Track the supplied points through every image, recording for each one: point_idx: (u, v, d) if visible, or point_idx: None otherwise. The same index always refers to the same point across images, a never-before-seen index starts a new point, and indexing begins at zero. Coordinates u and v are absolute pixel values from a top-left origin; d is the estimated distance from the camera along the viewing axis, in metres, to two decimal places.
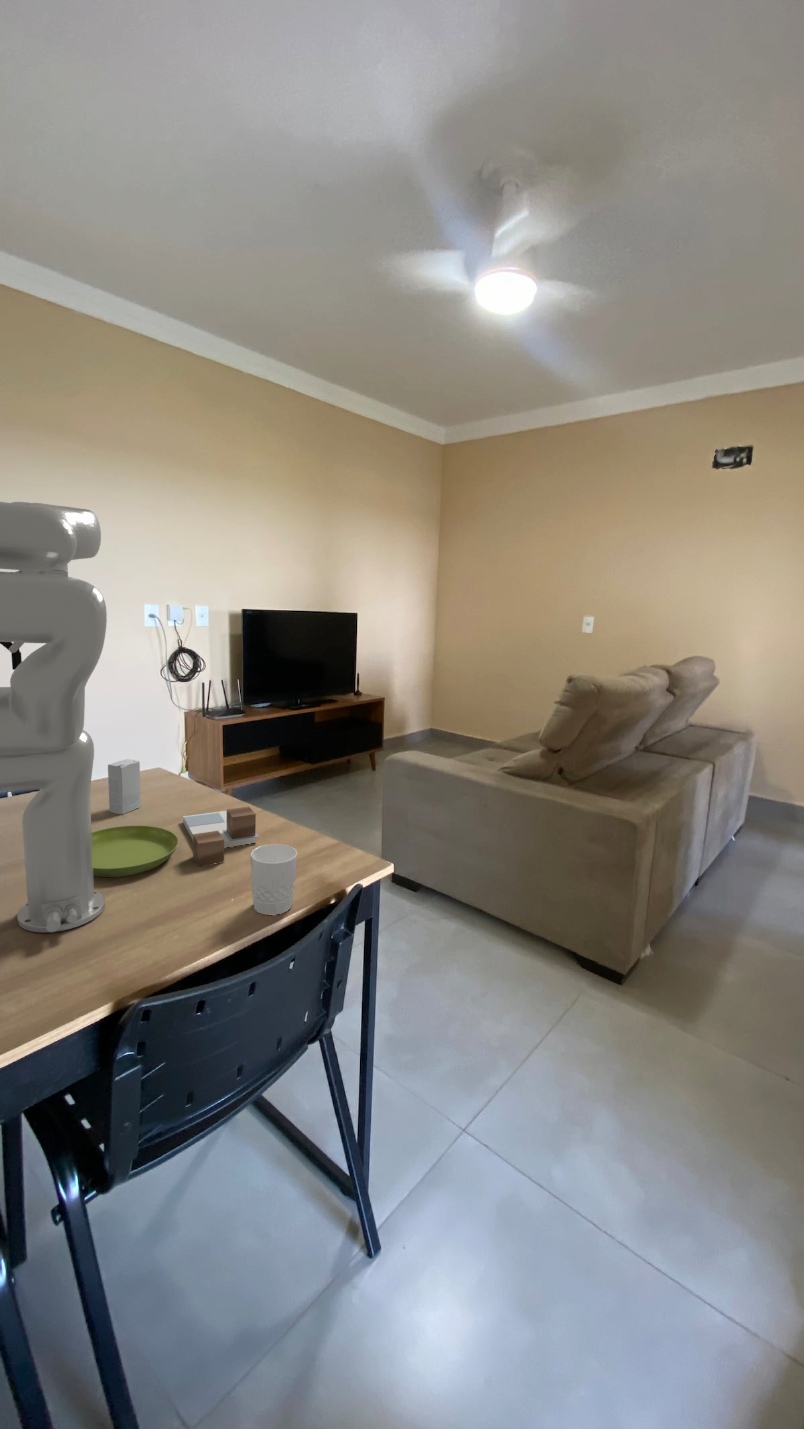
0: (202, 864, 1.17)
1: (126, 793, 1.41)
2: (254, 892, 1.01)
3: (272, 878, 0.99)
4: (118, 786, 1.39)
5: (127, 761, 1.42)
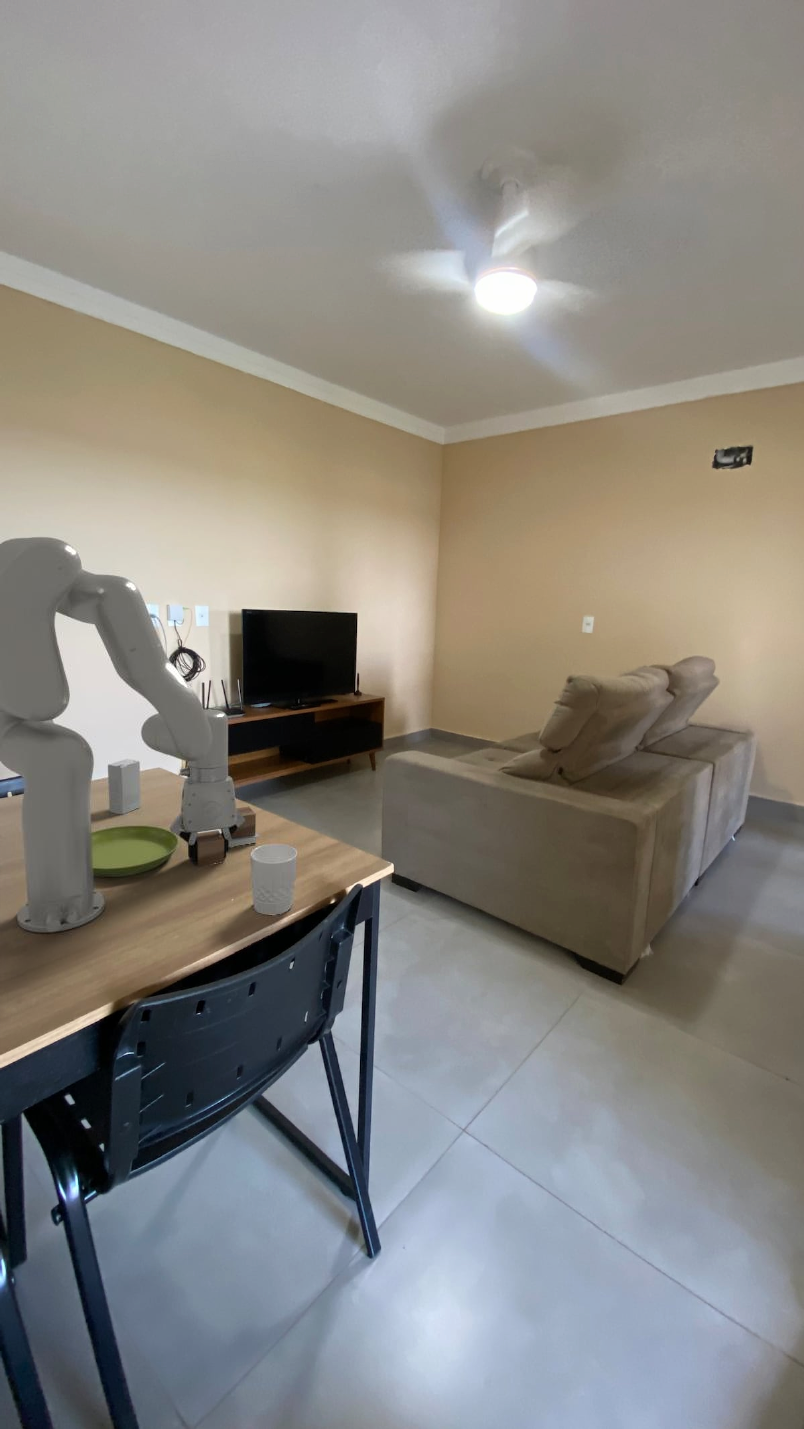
0: (202, 864, 1.17)
1: (126, 793, 1.41)
2: (254, 892, 1.01)
3: (272, 878, 0.99)
4: (118, 786, 1.39)
5: (127, 761, 1.42)
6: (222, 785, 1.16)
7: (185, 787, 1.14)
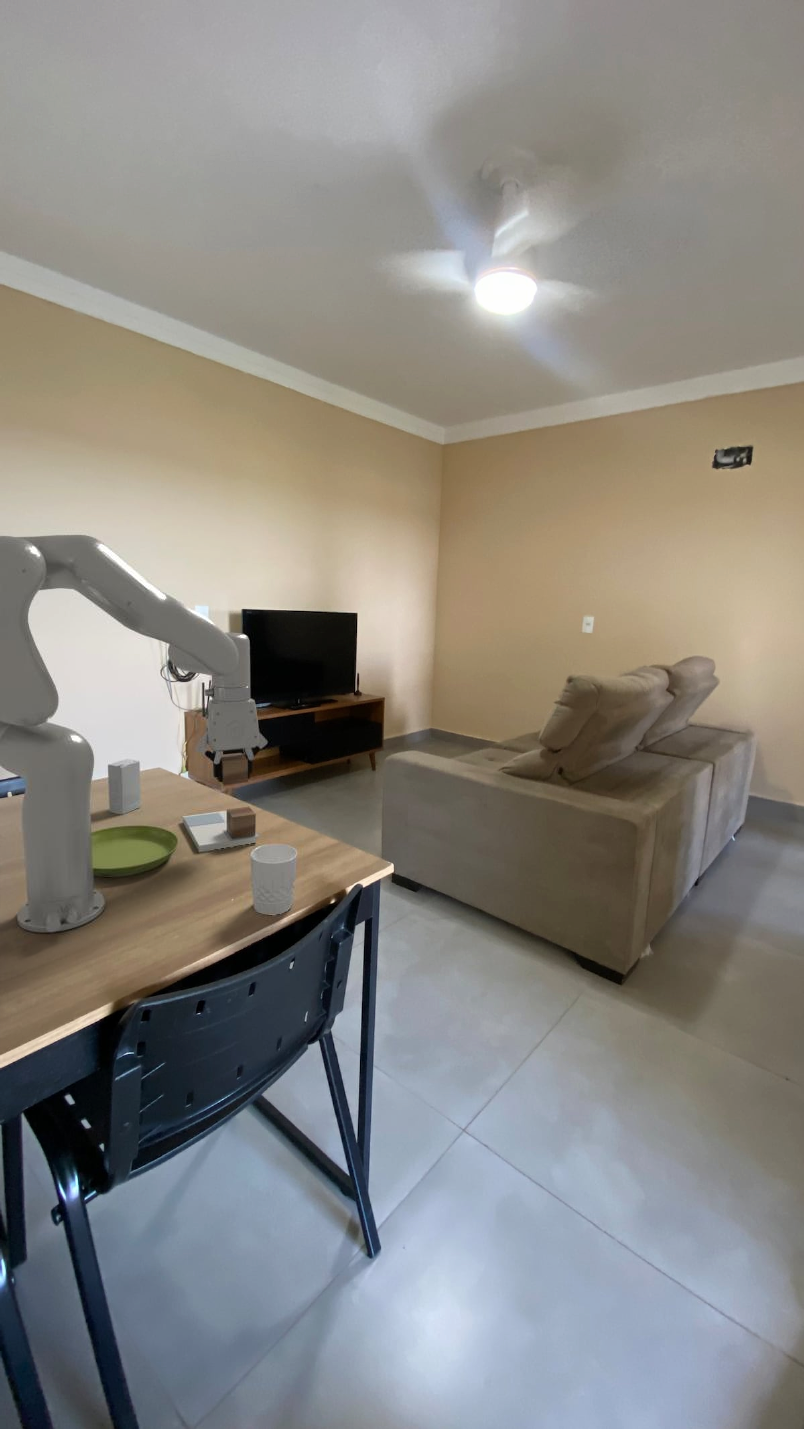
0: (227, 782, 1.22)
1: (126, 793, 1.41)
2: (254, 892, 1.01)
3: (272, 878, 0.99)
4: (118, 786, 1.39)
5: (127, 761, 1.42)
6: (245, 705, 1.20)
7: (210, 707, 1.18)
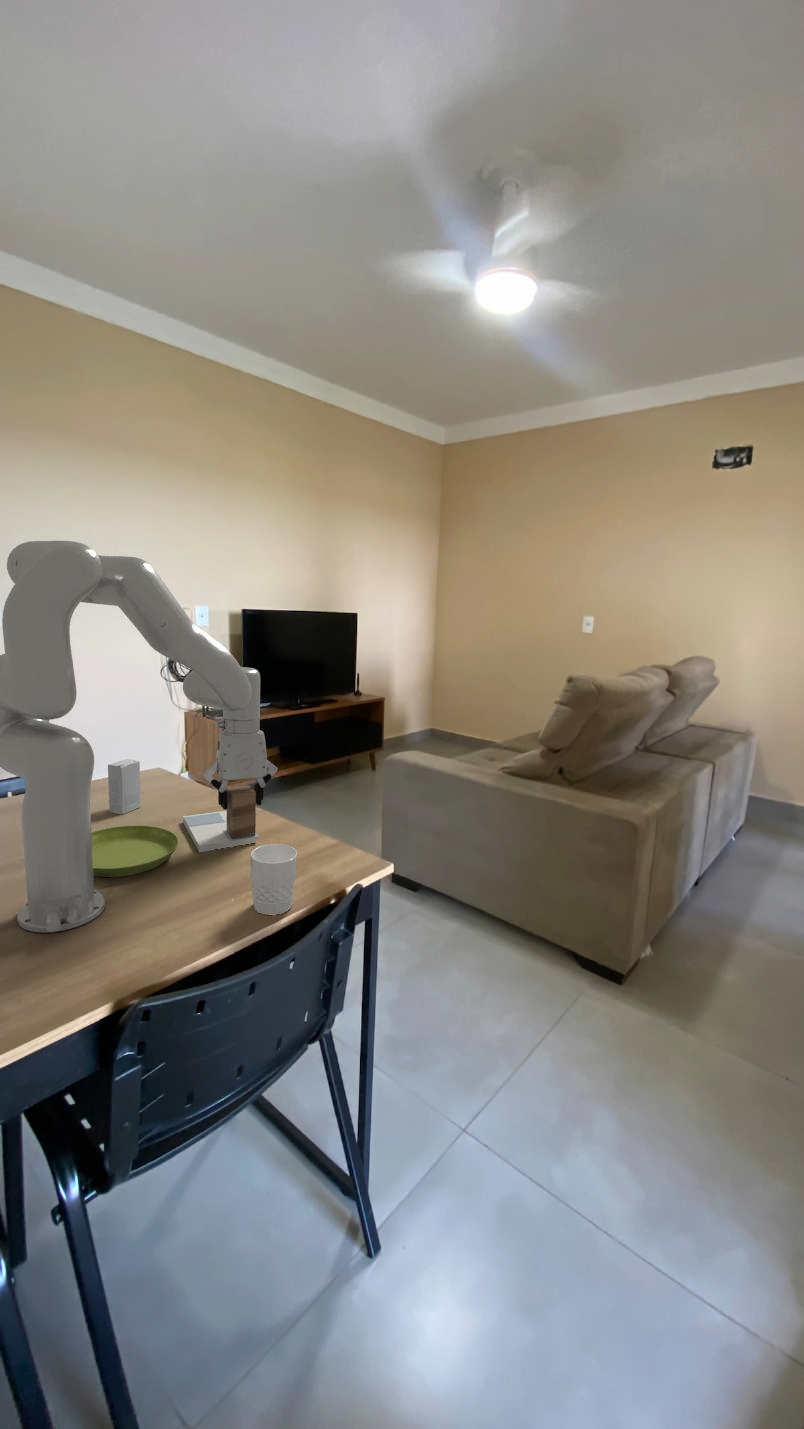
0: (236, 814, 1.26)
1: (126, 793, 1.41)
2: (254, 892, 1.01)
3: (272, 878, 0.99)
4: (118, 786, 1.39)
5: (127, 761, 1.42)
6: (255, 737, 1.25)
7: (221, 738, 1.23)
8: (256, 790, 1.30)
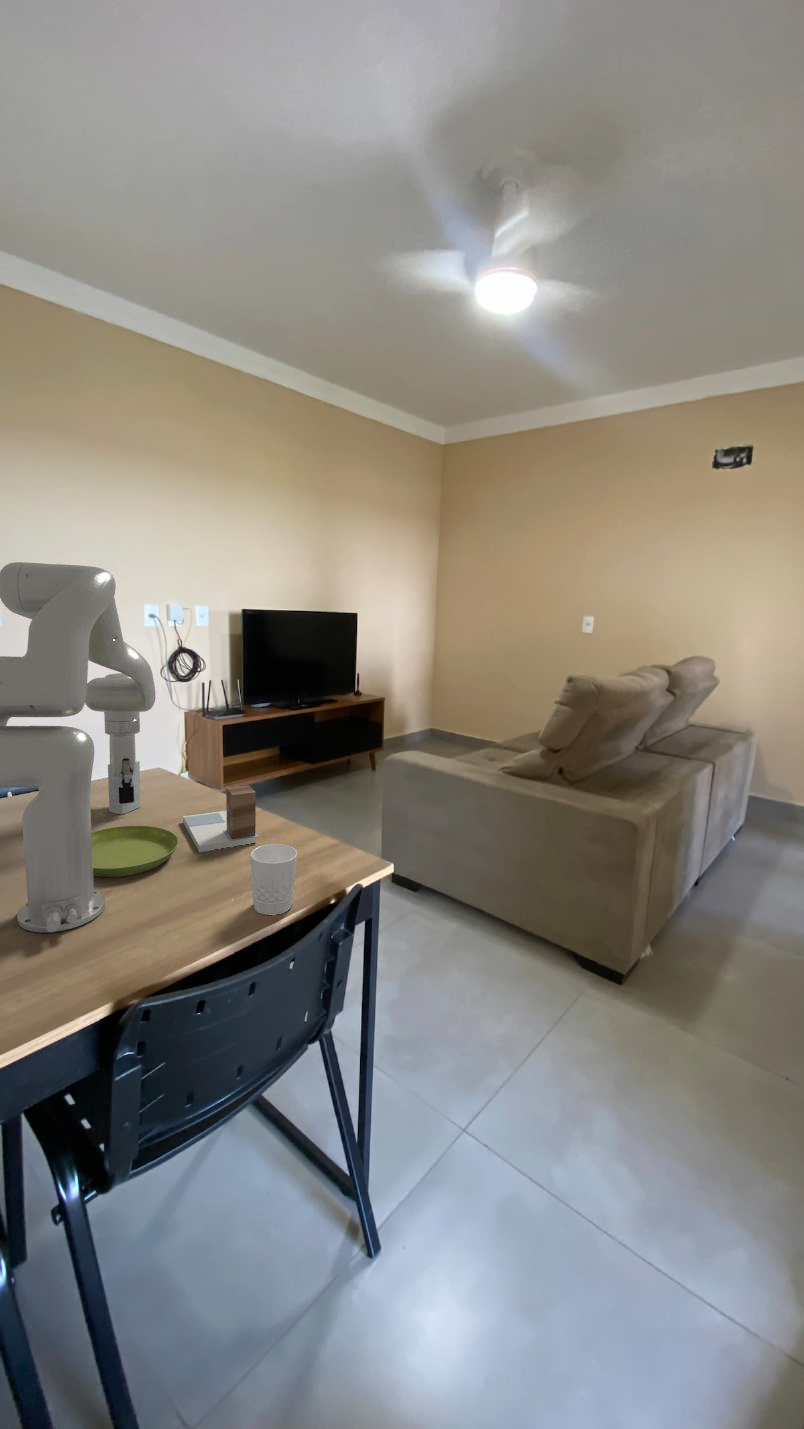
0: (236, 814, 1.26)
1: None
2: (254, 892, 1.01)
3: (272, 878, 0.99)
4: (118, 786, 1.39)
5: None
6: (111, 737, 1.37)
7: None
8: None
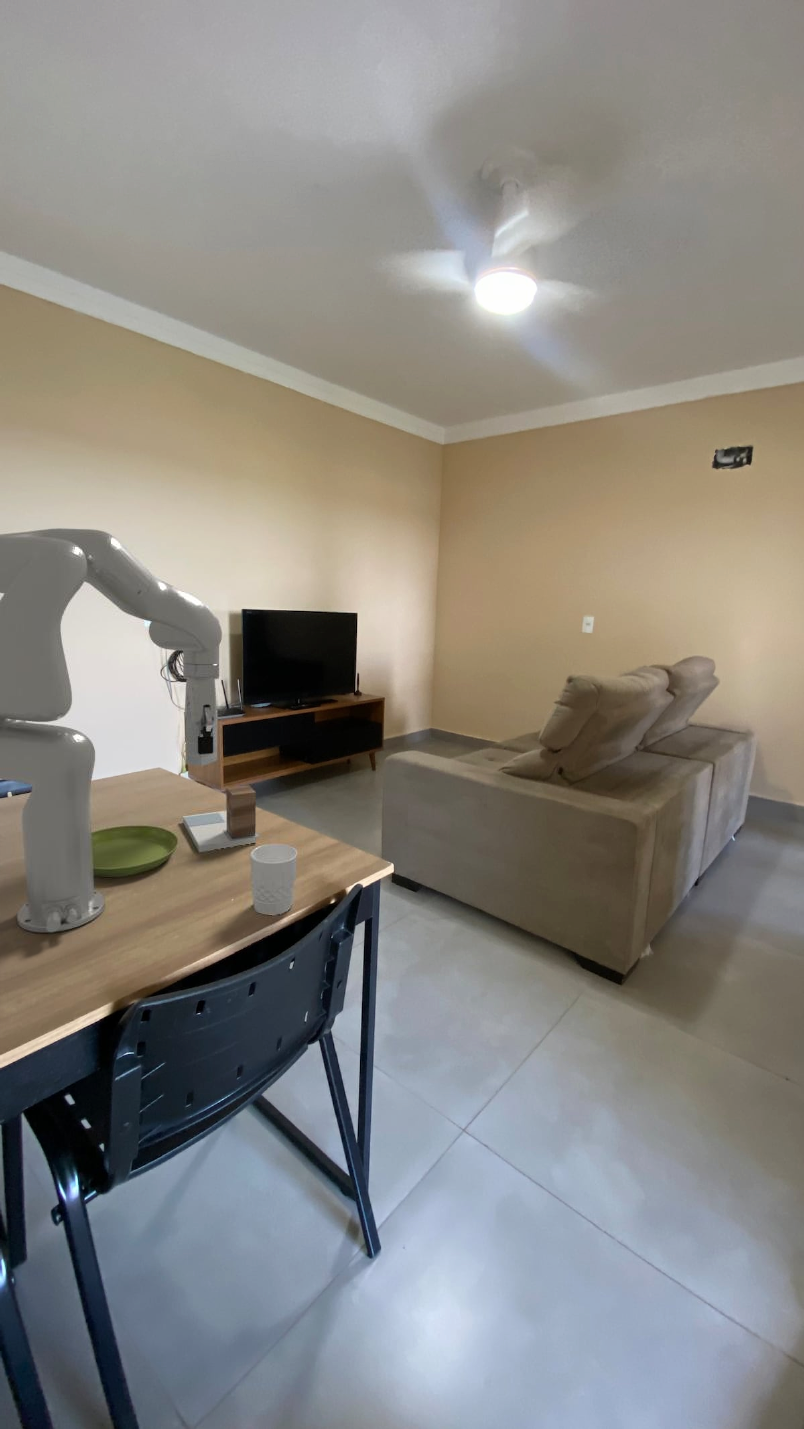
0: (236, 814, 1.26)
1: None
2: (254, 892, 1.01)
3: (272, 878, 0.99)
4: (197, 735, 1.30)
5: None
6: (191, 682, 1.27)
7: None
8: None
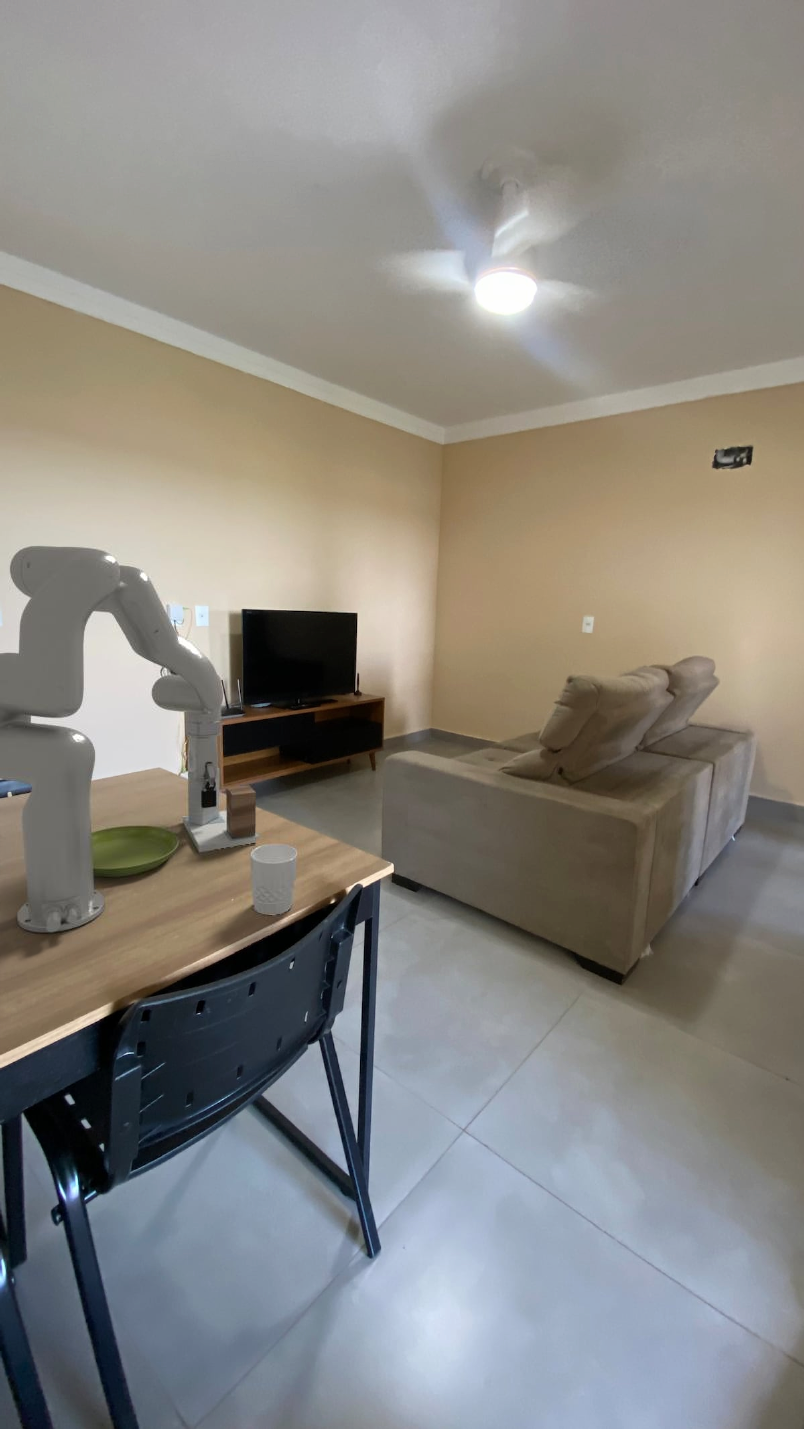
0: (236, 814, 1.26)
1: None
2: (254, 892, 1.01)
3: (272, 878, 0.99)
4: (199, 795, 1.32)
5: None
6: (193, 739, 1.30)
7: None
8: None
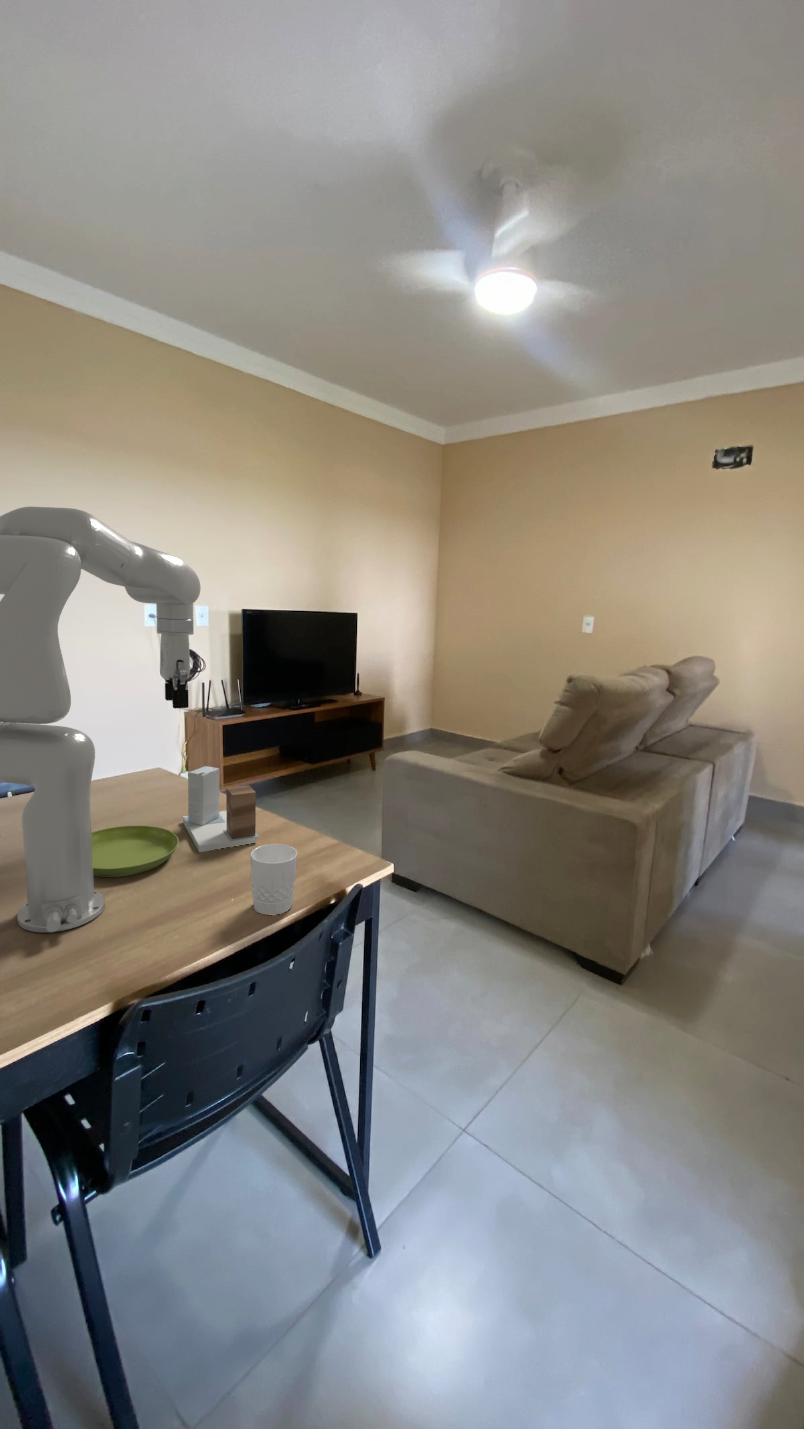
0: (236, 814, 1.26)
1: (206, 803, 1.33)
2: (254, 892, 1.01)
3: (272, 878, 0.99)
4: (199, 795, 1.32)
5: (207, 768, 1.35)
6: (164, 637, 1.26)
7: None
8: None
